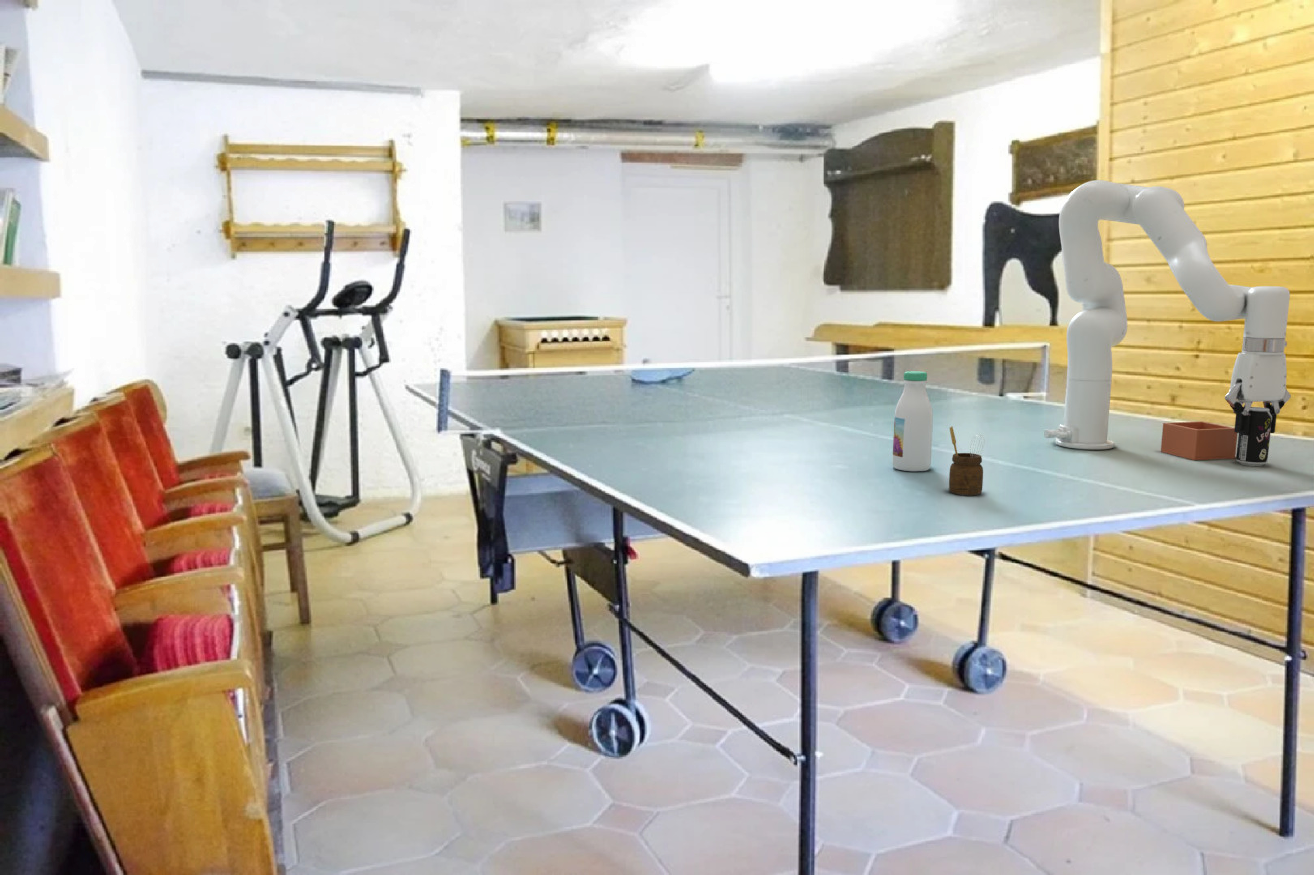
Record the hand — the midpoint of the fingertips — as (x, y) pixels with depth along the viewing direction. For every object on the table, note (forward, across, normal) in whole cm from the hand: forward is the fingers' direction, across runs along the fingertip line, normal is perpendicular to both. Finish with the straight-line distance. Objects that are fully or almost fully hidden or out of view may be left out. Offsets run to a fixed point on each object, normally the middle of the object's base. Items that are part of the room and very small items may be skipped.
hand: (1254, 431), depth 212 cm
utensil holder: (+7, +73, +11) cm, 74 cm away
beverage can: (+7, 0, 0) cm, 7 cm away
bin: (+7, +3, -12) cm, 14 cm away
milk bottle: (+7, +72, -12) cm, 73 cm away
